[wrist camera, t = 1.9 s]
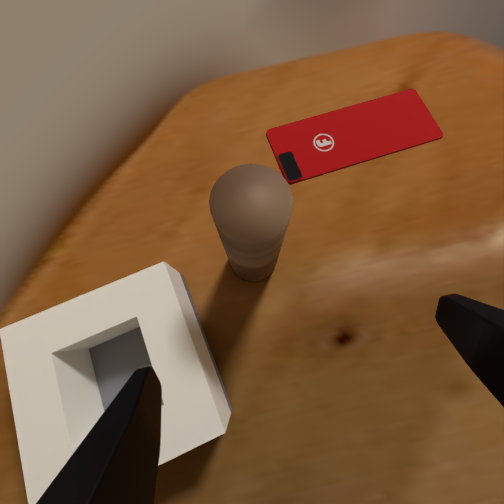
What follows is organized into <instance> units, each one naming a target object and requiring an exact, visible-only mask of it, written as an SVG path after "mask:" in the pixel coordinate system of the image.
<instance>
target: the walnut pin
mask: <svg viewBox="0 0 504 504" xmlns="http://www.w3.org/2000/svg"><path fill="white" fill-rule="evenodd" d="M209 204H210V211H211V214H212V217H213V220H214V222H215V225H216V227H217V230H218V233H219V235H220V238H221V241H222V243H223V246H224V248H225V251H226V254H227V256H228V259H229V261H230V264H231V267H232V269H233V271H234V272H235V274H236V275H237V276H238V277H240V278H241V279H243V280H245V281H249V282H257V281H261V280H264V279H265V278H267V277H268V276H269V275H270V274H271V273H272V272H273V270H274V268H275V265H276V262H277V259H278V255H279V252H280V249H281V246H282V242H283V239H284V236H285V233H286V230H287V226H288V223H289V220H290V217H291V213H292V210H293V194H292V191H291V188H290V186H289V184H288V183H287V181H286V180H285V179H284V177H283V176H282V175H280V174H279V173H278V172H277V171H275V170H273V169H271V168H269V167H267V166H263V165H258V164H245V165H240V166H237V167H234V168H232V169H230V170H228V171H227V172H225V173H224V174H223V175H222V176H221V177H220V178H219V179H218V180H217V181H216V183H215V184H214V186H213V188H212V191H211V194H210V200H209Z"/></svg>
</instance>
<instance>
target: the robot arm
mask: <svg viewBox="0 0 504 504" xmlns="http://www.w3.org/2000/svg"><path fill="white" fill-rule="evenodd" d="M435 317H436V321H437V323H438V325H439V326H440V327H441V329H442V330H443V332H444V333H445V334H446V336H447V337H448V339H449V340H450V341H451V343H452V344H453V345H454V347H455V348H456V350H457V351H458V352H459V354H460V355H461V357H462V358H463V359H464V361H465V362H466V363H467V365H468V366H469V367H470V369H471V370H472V371H473V372H474V373H475V375H476V376H477V377H478V378H479V379H480V380H481V382H482V383H483V384H484V385H485V386H486V387H487V388H488V390H489V391H490V392H491V393H492V394H493V395H494V397H495V398H496V399H497V400H498V401H499V402H500V403H501V405H502V406H503V407H504V310H502V309H499V308H496V307H493V306H490V305H488V304H485V303H482V302H479V301H476V300H473V299H470V298H467V297H464V296H461V295H458V294H449V295H444V296H441V297H440V299H439V302H438V306H437V310H436V315H435ZM161 407H162V387H161V383H160V380H159V379H158V377H157V375H156V373H155V371H154V369H153V367H152V366H145V367H141V368H138V369H136V370H135V371H134V372H133V374H132V375H131V376H130V378H129V379H128V380H127V382H126V383H125V384H124V386H123V387H122V389H121V390H120V391H119V393H118V394H117V395H116V397H115V398H114V399H113V401H112V402H111V403H110V405H109V406H108V407H107V409H106V410H105V411H104V413H103V414H102V415H101V417H100V418H99V419H98V421H97V422H96V423H95V425H94V426H93V428H92V429H91V430H90V432H89V433H88V434H87V436H86V437H85V438H84V440H83V441H82V442H81V444H80V445H79V446H78V448H77V449H76V450H75V452H74V453H73V454H72V456H71V457H70V458H69V460H68V461H67V463H66V464H65V465H64V467H63V468H62V469H61V471H60V472H59V473H58V475H57V476H56V477H55V479H54V480H53V481H52V483H51V484H50V485H49V487H48V488H47V489H46V491H45V492H44V493H43V495H42V496H41V497H40V499H39V500H38V502H37V503H36V504H154V496H155V488H156V480H157V472H158V464H159V456H160V445H161Z"/></svg>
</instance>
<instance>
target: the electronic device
mask: <svg viewBox="0 0 504 504" xmlns="http://www.w3.org/2000/svg"><path fill="white" fill-rule="evenodd" d="M266 135H267V138H268V140H269V142H270V145H271V147H272V150H273V152H274V154H275V157H276V159H277V162H278V164H279V167H280V169H281V171H282V174H283V176H284V179H285V180H286V181H287V183H288V184H293V183H296V182H299V181H302V180H306V179H309V178H312V177H316V176H319V175H322V174H325V173H329V172H332V171H335V170H338V169H342V168H345V167H348V166H352V165H355V164H358V163H361V162H365V161H368V160H371V159H375V158H378V157H381V156H384V155H388V154H391V153H394V152H397V151H401V150H404V149H407V148H411V147H414V146H417V145H420V144H424V143H427V142H430V141H434V140H437V139H440V138H442V137H443V133H442V131H441V130H440V128H439V126H438V125H437V123H436V122H435V120H434V118H433V117H432V115H431V114H430V112H429V111H428V109H427V107H426V106H425V104H424V103H423V101H422V99H421V98H420V96H419V95H418V93H417V91H416V90H414V89H409V90H405V91H402V92H398V93H395V94H391V95H388V96H384V97H381V98H377V99H374V100H370V101H367V102H363V103H360V104H356V105H353V106H349V107H346V108H342V109H339V110H335V111H332V112H328V113H325V114H321V115H318V116H314V117H311V118H307V119H304V120H300V121H297V122H293V123H290V124H286V125H283V126H279V127H276V128H272V129H269V130H268V131H267V133H266Z"/></svg>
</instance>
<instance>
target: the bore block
mask: <svg viewBox="0 0 504 504" xmlns="http://www.w3.org/2000/svg"><path fill="white" fill-rule="evenodd" d="M0 336H1V342H2V348H3V354H4V360H5V366H6V372H7V378H8V384H9V390H10V396H11V402H12V408H13V414H14V420H15V426H16V433H17V439H18V445H19V451H20V457H21V463H22V469H23V475H24V481H25V487H26V493H27V499H28V504H36V503H37V502H38V500H39V499H40V497H41V496H42V495H43V493H44V492H45V491H46V489H47V488H48V487H49V485H50V484H51V483H52V481H53V480H54V479H55V477H56V476H57V475H58V473H59V472H60V471H61V469H62V468H63V467H64V465H65V464H66V463H67V461H68V460H69V458H70V457H71V456H72V454H73V453H74V452H75V450H76V449H77V448H78V446H79V445H80V444H81V442H82V441H83V440H84V438H85V437H86V436H87V434H88V433H89V432H90V430H91V429H92V428H93V426H94V425H95V423H96V422H97V421H98V419H99V418H100V417H101V415H102V414H103V413H104V411H105V410H106V409H107V407H108V406H109V405H110V403H111V402H112V401H113V399H114V398H115V397H116V395H117V394H118V393H119V391H120V390H121V389H122V387H123V386H124V384H125V383H126V382H127V380H128V379H129V378H130V376H131V375H132V374H133V372H134V371H135V370H136V369H138V368H141V367H145V366H152V367H153V369H154V371H155V373H156V375H157V377H158V379H159V380H160V383H161V387H162V407H161V445H160V456H159V464H158V466H159V465H161V464H163V463H165V462H167V461H169V460H171V459H173V458H175V457H177V456H179V455H181V454H183V453H185V452H188V451H190V450H192V449H194V448H196V447H198V446H200V445H202V444H204V443H206V442H208V441H210V440H212V439H214V438H216V437H218V436H220V435H222V434H224V433H225V432H226V429H227V425H228V422H229V418H230V415H231V411H232V406H231V403H230V401H229V398H228V395H227V393H226V390H225V387H224V384H223V382H222V379H221V376H220V374H219V371H218V368H217V366H216V363H215V360H214V358H213V355H212V352H211V349H210V347H209V344H208V341H207V339H206V336H205V333H204V331H203V328H202V325H201V322H200V320H199V317H198V314H197V312H196V309H195V306H194V304H193V301H192V298H191V296H190V293H189V290H188V287H187V285H186V282H185V279H184V277H183V275H182V274H180V273H179V272H178V271H176V270H175V269H174V268H172V267H171V266H170V265H168V264H167V263H166V262H161V263H159V264H156V265H154V266H151V267H149V268H147V269H144V270H142V271H139V272H137V273H135V274H132V275H130V276H127V277H125V278H122V279H120V280H118V281H115V282H113V283H110V284H108V285H105V286H103V287H101V288H98V289H96V290H93V291H91V292H89V293H86V294H84V295H81V296H79V297H76V298H74V299H72V300H69V301H67V302H64V303H62V304H59V305H57V306H55V307H52V308H50V309H47V310H45V311H43V312H40V313H38V314H35V315H33V316H30V317H28V318H26V319H23V320H21V321H18V322H16V323H13V324H11V325H9V326H6V327H4V328H1V329H0Z"/></svg>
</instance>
